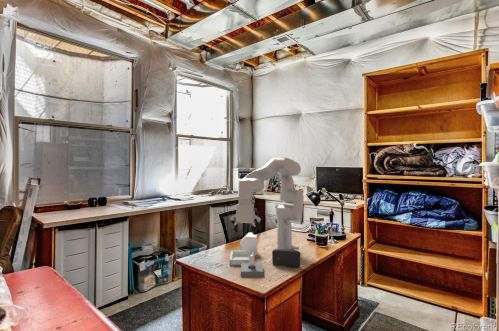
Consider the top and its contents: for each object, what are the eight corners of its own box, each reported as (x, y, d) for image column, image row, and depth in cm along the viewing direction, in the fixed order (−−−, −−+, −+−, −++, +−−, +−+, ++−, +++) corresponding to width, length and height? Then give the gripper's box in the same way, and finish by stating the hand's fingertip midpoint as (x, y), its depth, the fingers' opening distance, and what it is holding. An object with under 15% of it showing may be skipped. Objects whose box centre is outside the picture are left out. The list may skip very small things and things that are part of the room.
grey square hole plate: (262, 268, 160) (262, 263, 160) (263, 277, 148) (263, 271, 148) (241, 268, 160) (241, 262, 160) (240, 277, 148) (240, 271, 148)
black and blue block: (300, 265, 164) (300, 249, 164) (300, 268, 160) (300, 251, 160) (273, 263, 168) (273, 247, 168) (272, 265, 163) (272, 249, 163)
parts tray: (253, 256, 179) (253, 250, 179) (253, 266, 163) (253, 259, 163) (231, 256, 179) (231, 250, 179) (229, 266, 163) (229, 259, 163)
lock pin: (254, 270, 155) (254, 254, 155) (254, 272, 152) (254, 256, 152) (249, 270, 155) (249, 254, 155) (249, 272, 152) (249, 256, 152)
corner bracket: (255, 255, 180) (255, 237, 180) (238, 254, 183) (238, 236, 182) (258, 250, 191) (258, 232, 190) (242, 249, 193) (242, 232, 193)
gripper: (261, 201, 156) (261, 232, 156) (231, 200, 159) (231, 230, 160) (259, 203, 149) (259, 235, 149) (228, 202, 152) (228, 233, 152)
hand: (245, 232), depth 154 cm, fingers open, 9 cm apart
